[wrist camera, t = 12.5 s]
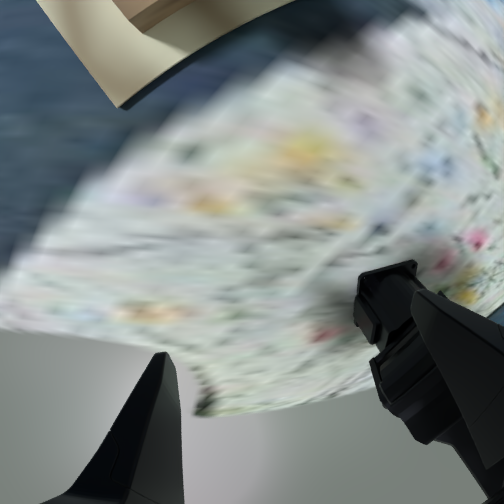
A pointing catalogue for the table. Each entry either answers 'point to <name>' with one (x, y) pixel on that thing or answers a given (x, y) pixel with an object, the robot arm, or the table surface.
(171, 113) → the table surface
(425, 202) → the table surface
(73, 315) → the table surface
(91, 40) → the socket
